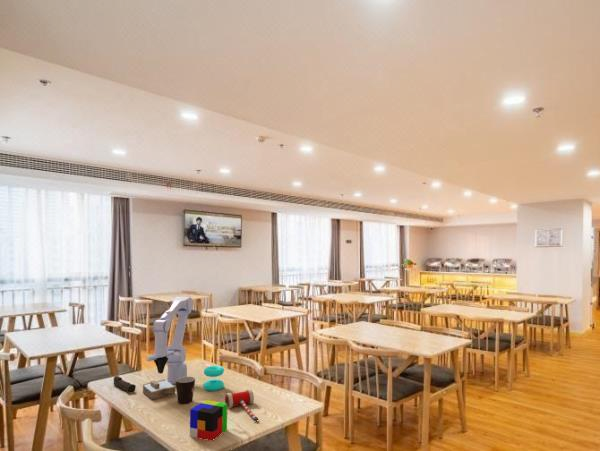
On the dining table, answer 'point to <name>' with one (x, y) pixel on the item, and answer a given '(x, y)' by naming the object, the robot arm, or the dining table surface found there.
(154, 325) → the robot arm
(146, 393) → the wooden tray
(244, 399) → the toy hammer
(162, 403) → the dining table surface
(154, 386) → the lid
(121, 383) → the dark brown wooden log
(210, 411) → the puzzle toy
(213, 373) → the donuts
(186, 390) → the coffee mug
